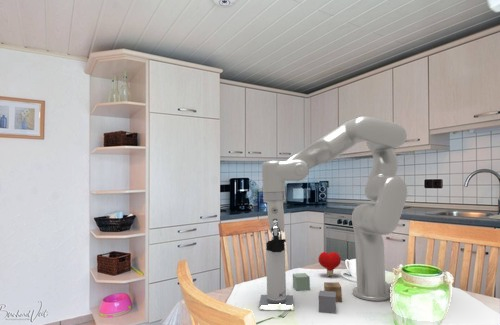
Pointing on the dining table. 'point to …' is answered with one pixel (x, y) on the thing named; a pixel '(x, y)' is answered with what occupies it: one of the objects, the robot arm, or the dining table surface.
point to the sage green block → (301, 282)
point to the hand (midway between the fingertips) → (277, 248)
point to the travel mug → (276, 274)
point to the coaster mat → (264, 302)
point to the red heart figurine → (329, 261)
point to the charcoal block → (327, 302)
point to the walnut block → (334, 289)
